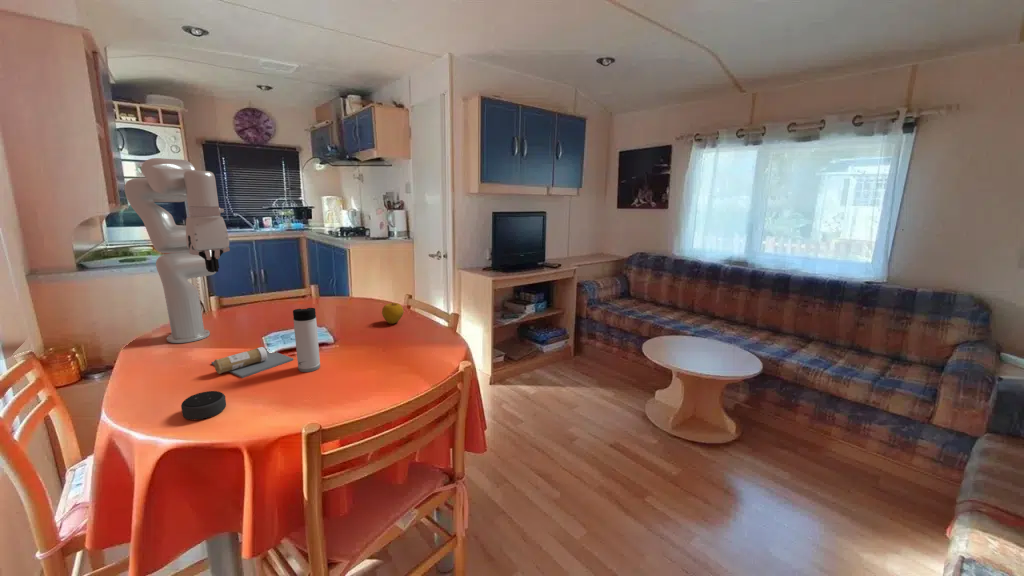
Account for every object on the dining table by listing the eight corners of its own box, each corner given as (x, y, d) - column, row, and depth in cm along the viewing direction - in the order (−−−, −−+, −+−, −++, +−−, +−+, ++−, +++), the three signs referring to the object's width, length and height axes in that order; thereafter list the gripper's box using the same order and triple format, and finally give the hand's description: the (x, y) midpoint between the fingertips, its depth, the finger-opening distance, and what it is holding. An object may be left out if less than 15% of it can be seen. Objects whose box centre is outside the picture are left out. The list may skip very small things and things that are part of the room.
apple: (400, 326, 171) (399, 306, 169) (379, 326, 171) (378, 305, 169) (406, 320, 180) (405, 300, 178) (386, 319, 180) (385, 299, 178)
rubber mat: (211, 364, 131) (211, 362, 131) (262, 348, 144) (262, 346, 144) (242, 378, 122) (242, 376, 122) (293, 360, 136) (293, 358, 136)
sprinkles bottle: (220, 376, 122) (268, 362, 133) (218, 362, 121) (267, 349, 131) (214, 371, 125) (262, 357, 135) (212, 357, 124) (260, 344, 134)
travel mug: (298, 374, 126) (292, 311, 121) (298, 366, 131) (292, 306, 127) (320, 370, 129) (315, 309, 124) (319, 362, 134) (314, 304, 130)
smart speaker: (212, 422, 100) (209, 407, 99) (173, 422, 99) (171, 407, 98) (234, 403, 108) (232, 389, 107) (199, 403, 108) (197, 389, 107)
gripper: (225, 211, 133) (232, 266, 138) (169, 212, 121) (179, 273, 125) (237, 212, 130) (244, 269, 134) (181, 214, 117) (191, 277, 121)
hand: (213, 271), depth 129 cm, fingers closed
